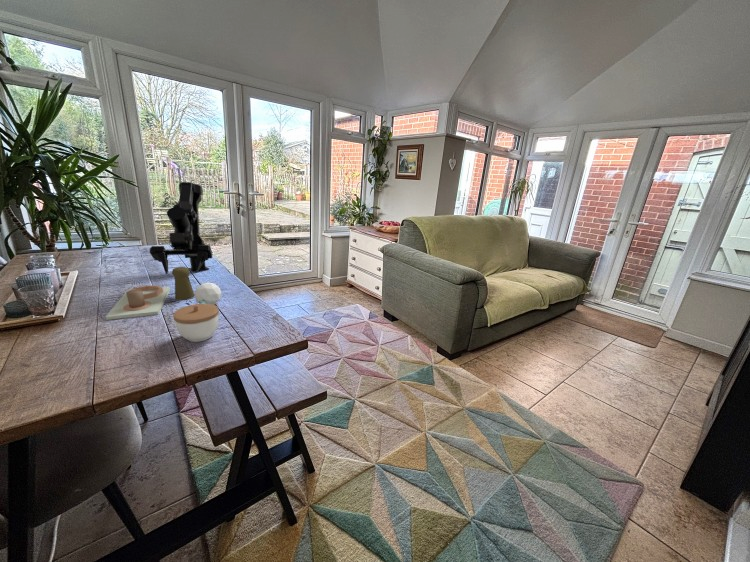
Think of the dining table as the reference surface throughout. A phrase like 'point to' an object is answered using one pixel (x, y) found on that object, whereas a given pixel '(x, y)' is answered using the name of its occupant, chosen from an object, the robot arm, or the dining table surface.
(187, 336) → the lidded jar
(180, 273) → the cork
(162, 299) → the pin board
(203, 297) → the faceted white bauble
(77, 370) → the dining table surface
